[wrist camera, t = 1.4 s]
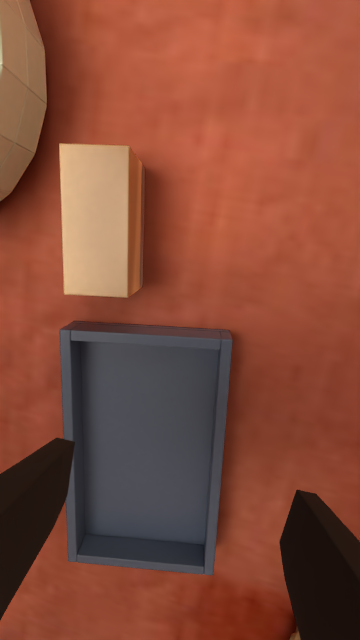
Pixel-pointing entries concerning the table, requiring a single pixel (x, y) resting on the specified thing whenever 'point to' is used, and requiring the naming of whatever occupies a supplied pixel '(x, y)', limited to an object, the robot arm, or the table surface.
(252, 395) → the table surface
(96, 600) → the table surface
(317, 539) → the robot arm
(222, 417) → the tray
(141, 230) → the eraser
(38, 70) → the bowl
